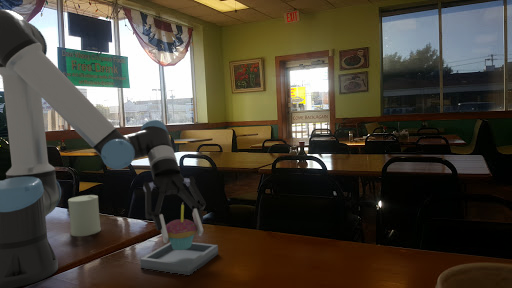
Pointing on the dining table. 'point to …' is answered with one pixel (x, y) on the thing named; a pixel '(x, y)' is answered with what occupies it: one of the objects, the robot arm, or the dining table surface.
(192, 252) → the tray
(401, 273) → the dining table surface
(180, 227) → the cupcake
